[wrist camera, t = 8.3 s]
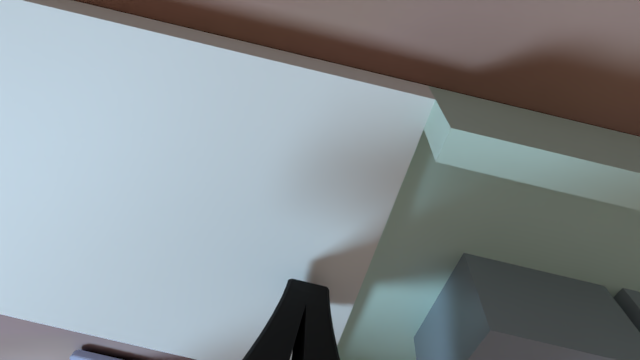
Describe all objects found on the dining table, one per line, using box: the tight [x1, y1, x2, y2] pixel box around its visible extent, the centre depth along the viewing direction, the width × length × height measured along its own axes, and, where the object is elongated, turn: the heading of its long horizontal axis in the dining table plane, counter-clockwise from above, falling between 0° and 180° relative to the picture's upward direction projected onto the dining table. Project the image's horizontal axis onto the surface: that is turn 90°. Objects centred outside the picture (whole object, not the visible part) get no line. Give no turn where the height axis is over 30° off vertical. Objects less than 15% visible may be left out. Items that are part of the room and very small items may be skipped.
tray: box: [337, 86, 640, 360], centre depth 12 cm, size 14×16×3 cm
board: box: [0, 0, 435, 360], centre depth 13 cm, size 14×18×1 cm
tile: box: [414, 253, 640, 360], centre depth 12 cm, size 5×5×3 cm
